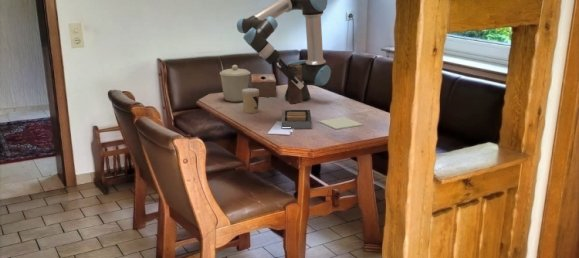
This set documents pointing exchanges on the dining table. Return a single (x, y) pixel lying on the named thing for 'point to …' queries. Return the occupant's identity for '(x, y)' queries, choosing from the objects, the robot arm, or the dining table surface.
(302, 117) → the offcut stack
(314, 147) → the dining table surface
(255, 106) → the coffee cup
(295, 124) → the offcut rack
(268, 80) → the tissue box cover
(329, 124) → the mat
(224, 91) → the canister
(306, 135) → the dining table surface
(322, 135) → the dining table surface
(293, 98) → the dark brown tall cylinder
